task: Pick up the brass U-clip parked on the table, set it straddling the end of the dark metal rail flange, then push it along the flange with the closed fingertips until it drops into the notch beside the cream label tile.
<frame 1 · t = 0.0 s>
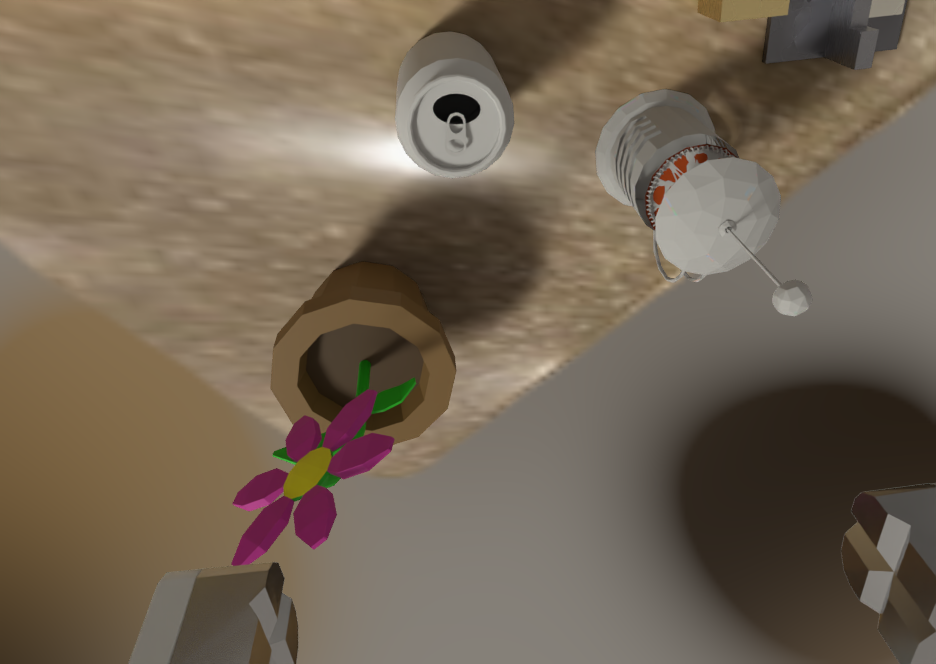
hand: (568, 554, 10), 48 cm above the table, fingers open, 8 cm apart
flowerpot: (370, 311, 63), on the table
french press: (652, 161, 57), on the table
can: (447, 82, 53), on the table
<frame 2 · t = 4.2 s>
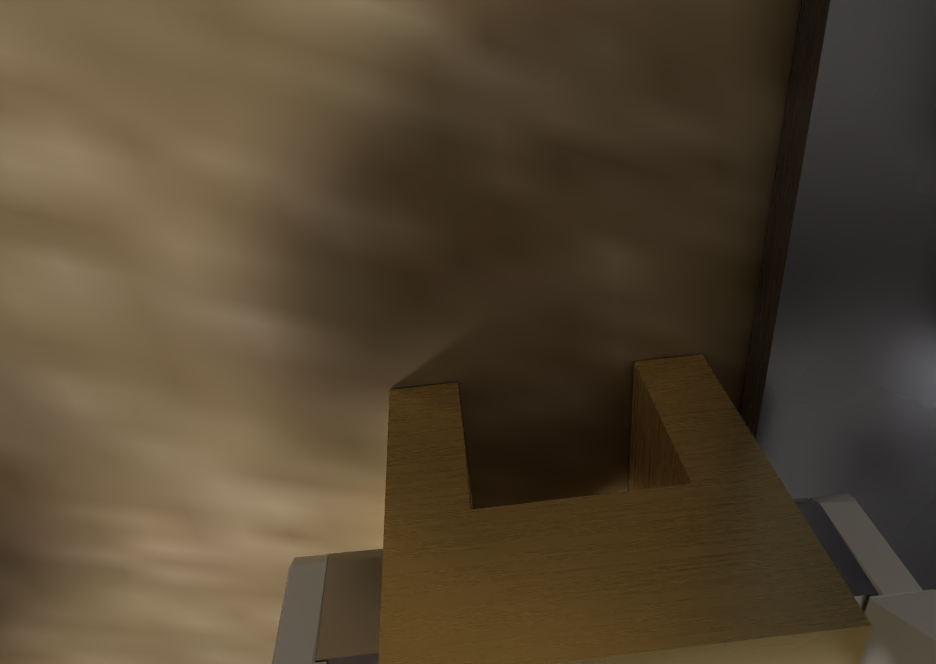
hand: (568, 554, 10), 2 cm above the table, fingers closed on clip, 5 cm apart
clip: (549, 472, 11), on the table, touching gripper
when the fingers open (5 cm above the table, at t = 9.5 s): clip drops 1 cm, point 3 cm above the table.
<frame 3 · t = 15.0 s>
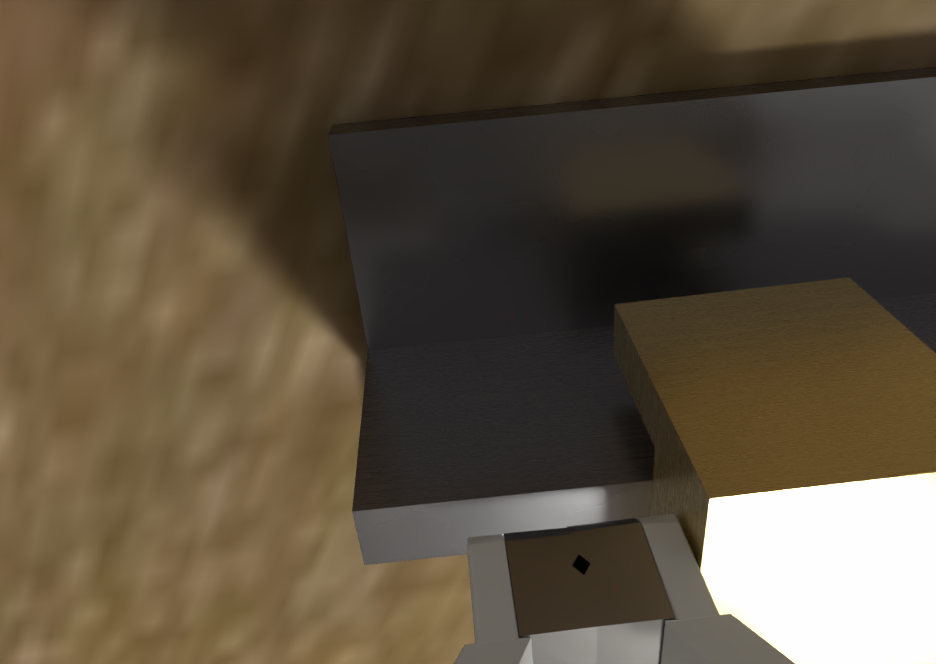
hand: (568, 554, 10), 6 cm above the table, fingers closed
clip: (718, 398, 13), point 3 cm above the table, touching gripper
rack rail: (879, 306, 15), on the table
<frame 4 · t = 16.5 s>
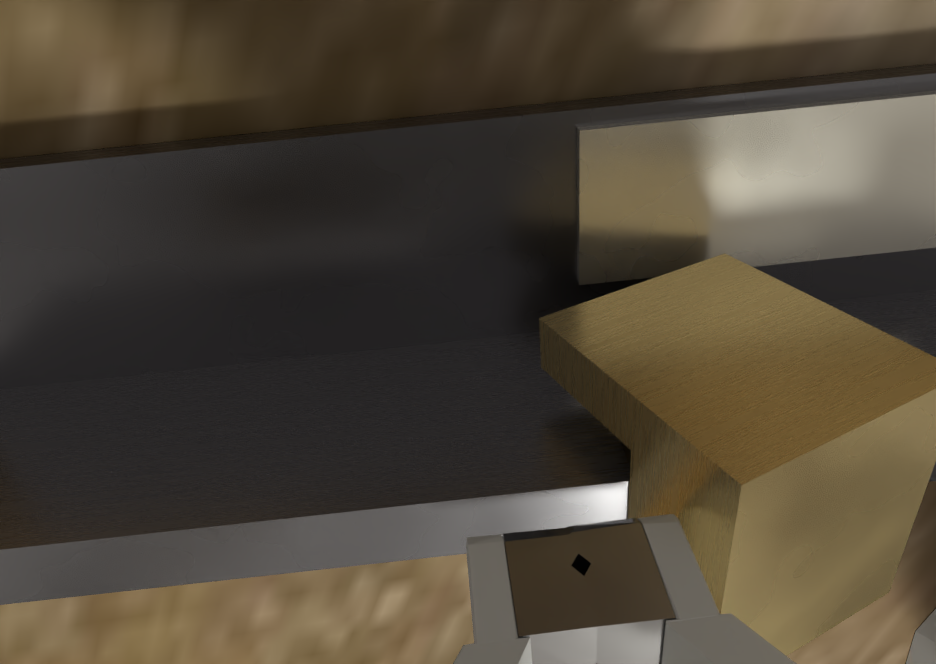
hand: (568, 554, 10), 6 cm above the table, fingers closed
clip: (632, 388, 14), point 2 cm above the table, tilted 23°, touching gripper, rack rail
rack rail: (502, 344, 15), on the table
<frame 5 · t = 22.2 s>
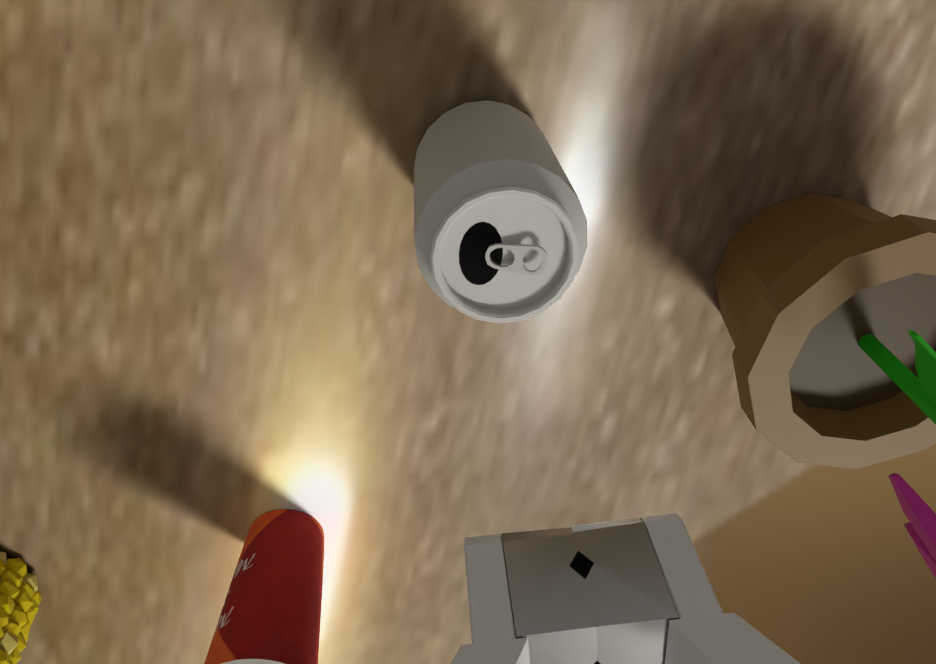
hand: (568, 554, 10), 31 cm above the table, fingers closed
paper cup: (287, 533, 53), on the table
flowerpot: (793, 268, 44), on the table
can: (481, 164, 39), on the table
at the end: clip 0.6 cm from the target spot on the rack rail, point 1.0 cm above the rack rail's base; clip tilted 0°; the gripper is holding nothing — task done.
